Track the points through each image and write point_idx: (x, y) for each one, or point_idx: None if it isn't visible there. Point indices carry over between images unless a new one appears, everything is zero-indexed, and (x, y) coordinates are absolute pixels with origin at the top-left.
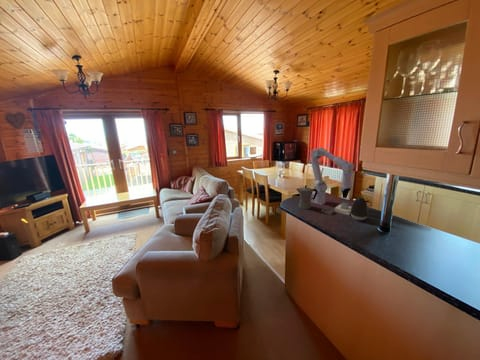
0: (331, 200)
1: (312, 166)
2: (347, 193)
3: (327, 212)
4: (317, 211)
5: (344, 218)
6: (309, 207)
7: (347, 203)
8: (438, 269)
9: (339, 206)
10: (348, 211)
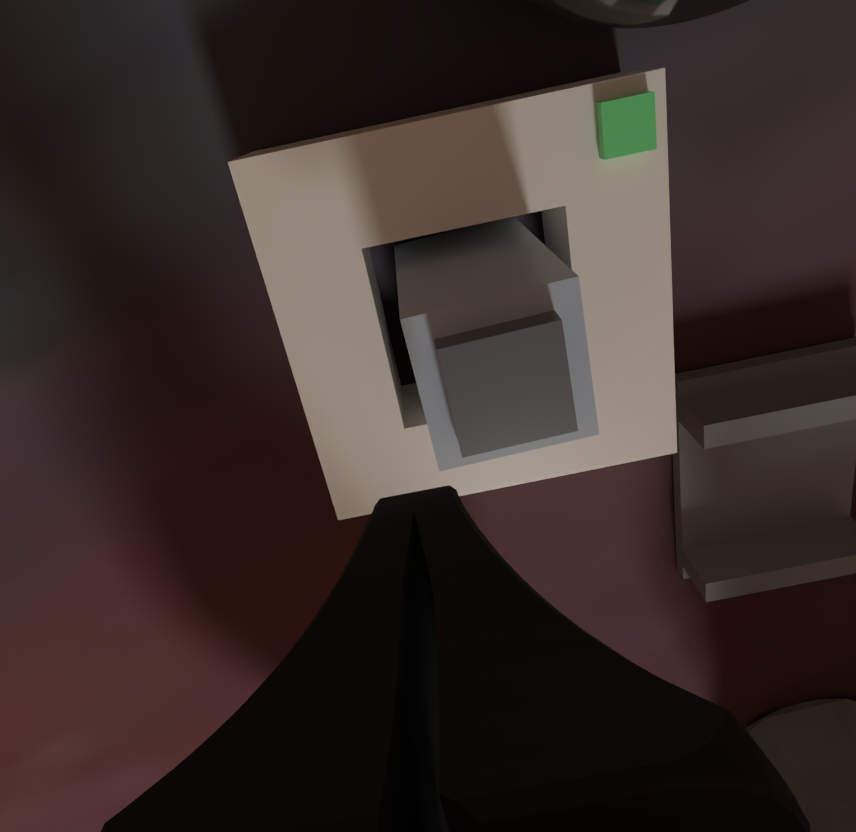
0: (154, 742)
1: None
2: (476, 611)
3: (805, 455)
4: (828, 585)
5: (835, 61)
6: (833, 727)
7: (509, 300)
8: None
9: None
10: (647, 108)
